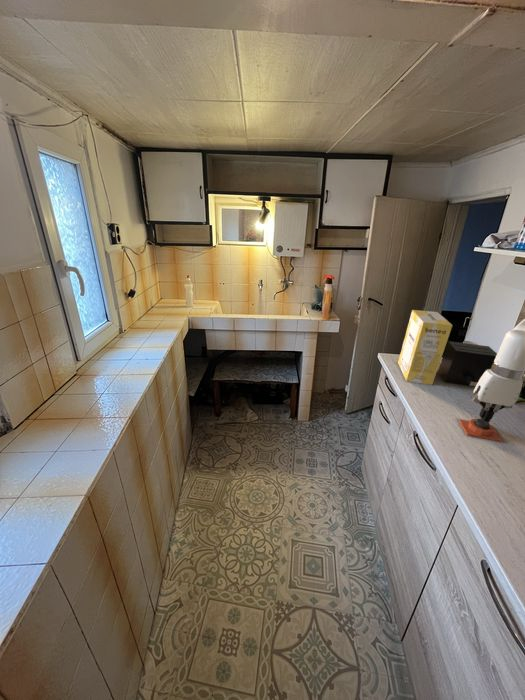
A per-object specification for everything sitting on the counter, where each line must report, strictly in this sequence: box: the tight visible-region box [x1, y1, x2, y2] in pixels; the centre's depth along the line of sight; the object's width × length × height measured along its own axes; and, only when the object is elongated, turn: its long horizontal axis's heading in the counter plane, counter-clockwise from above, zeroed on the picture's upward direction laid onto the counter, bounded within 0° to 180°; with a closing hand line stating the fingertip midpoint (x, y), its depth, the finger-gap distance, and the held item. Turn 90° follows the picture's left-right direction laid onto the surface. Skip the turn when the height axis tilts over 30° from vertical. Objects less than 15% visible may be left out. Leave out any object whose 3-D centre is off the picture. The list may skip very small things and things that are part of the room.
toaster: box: [437, 340, 498, 388], centre depth 124 cm, size 16×11×16 cm
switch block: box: [458, 418, 503, 443], centre depth 94 cm, size 10×8×3 cm
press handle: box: [465, 375, 478, 387], centre depth 117 cm, size 3×6×2 cm, turn 164°
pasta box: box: [397, 309, 453, 386], centre depth 125 cm, size 18×10×28 cm, turn 167°
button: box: [475, 418, 491, 430], centre depth 94 cm, size 4×4×2 cm
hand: (484, 419), depth 93 cm, fingers closed
